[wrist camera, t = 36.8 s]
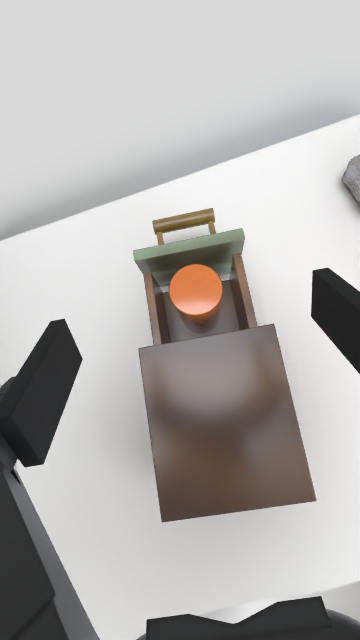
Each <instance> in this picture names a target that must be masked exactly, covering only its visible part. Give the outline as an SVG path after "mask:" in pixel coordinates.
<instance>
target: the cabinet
mask: <svg viewBox="0 0 360 640" xmlns="http://www.w3.org/2000/svg"><path fill="white" fill-rule="evenodd" d="M139 357H140V364H141V372H142V379H143V386H144V394H145V401H146V409H147V416H148V423H149V431H150V438H151V446H152V453H153V460H154V468H155V475H156V483H157V490H158V498H159V505H160V512H161V520H162V522H169V521H176V520H183V519H190V518H197V517H205V516H212V515H219V514H226V513H233V512H240V511H248V510H255V509H262V508H269V507H276V506H284V505H291V504H298V503H305V502H312V501H316V496H315V492H314V488H313V483H312V479H311V475H310V471H309V467H308V463H307V459H306V454H305V450H304V446H303V442H302V438H301V434H300V430H299V425H298V421H297V417H296V413H295V409H294V405H293V401H292V396H291V392H290V388H289V384H288V380H287V376H286V372H285V367H284V363H283V359H282V355H281V351H280V347H279V342H278V338H277V334H276V330H275V326H274V324H270V325H265V326H259V327H254V328H248V329H243V330H237V331H232V332H226V333H221V334H215V335H210V336H204V337H199V338H193V339H188V340H182V341H177V342H171V343H166V344H160V345H155V346H149V347H144V348H139Z"/></svg>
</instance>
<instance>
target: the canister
mask: <svg viewBox="0 0 360 640" xmlns="http://www.w3.org/2000/svg"><path fill="white" fill-rule="evenodd" d="M169 294H170V298H171V301H172V303H173V305H174V307H175V309H176V310H177V312H178V314H179V316H180V318H181V320H182V322H183V324H184V326H185V327H186V328H187V329H188V330H190V331H192V332H194V333H207V332H209V331H211V330H212V329H214V328H215V327H216V325H217V324H218V322H219V319H220V312H221V300H222V283H221V280H220V278H219V276H218V275H217V273H216V272H215V271H214V270H212V269H211V268H209V267H207V266H205V265H199V264H193V265H188V266H186V267H184V268H182V269H180V270H179V271H178V272H177V273H176V274H175V275H174V277H173V278H172V280H171V283H170V287H169Z"/></svg>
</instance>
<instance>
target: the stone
mask: <svg viewBox="0 0 360 640" xmlns="http://www.w3.org/2000/svg"><path fill="white" fill-rule="evenodd" d="M342 180H343V182H344V183H345V184H346V185H347V186H348V187H349V188H350V191H351V192H352V194H353V195H354V197H355V199H357V201H358V202H359V203H360V155H358V156H356V157H354V158H352V159H351V160H350V161H349V163H348V166H347V170H346V172H345V173H344V176H343V178H342Z"/></svg>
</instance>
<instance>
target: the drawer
mask: <svg viewBox="0 0 360 640" xmlns="http://www.w3.org/2000/svg"><path fill="white" fill-rule="evenodd" d="M214 222H215V217H214V211H213V208H210V209H205V210H201V211H196V212H191V213H186V214H182V215H177V216H172V217H168V218H163V219H158V220H153V228H154V232H155V234H156V235H157V239H158V246H154V247H149V248H144V249H139V250H134V251H133V255H134V261H135V262H136V264H137V266H138V267H139V269H140V270H141V272H142V273H143V275H144V281H145V288H146V295H147V302H148V308H149V315H150V322H151V329H152V336H153V342H154V346H155V345H160V344H166V343H171V342H177V341H182V340H188V339H193V338H199V337H204V336H210V335H215V334H221V333H226V332H232V331H237V330H243V329H248V328H254V327H257V322H256V318H255V314H254V309H253V305H252V301H251V296H250V292H249V287H248V283H247V279H246V274H245V270H244V265H243V261H242V257H241V255H242V250H243V245H244V240H245V236H244V232H243V229H242V228H241V229H236V230H231V231H226V232H222V233H217V234H216V232H215V227H214ZM205 224H208V226H209V231H210V235H207V236H202V237H197V238H192V239H188V240H183V241H178V242H173V243H168V244H164V241H163V235H162V233H167V232H171V231H176V230H181V229H186V228H191V227H195V226H200V225H205ZM193 264H199V265H205V266H207V267H209V268H211V269H212V270H214V271H215V272H216V273H217V275H219V274H224V273H229V272H230V278H229V280H226V281H221V283H222V300H221V312H220V319H219V322H218V324H217V325H216V327H215V328H214V329H212V330H211V331H209V332H207V333H194V332H192V331H190V330H188V329H187V328H186V327H185V326H184V324H183V322H182V320H181V318H180V316H179V314H178V312H177V310H176V309H175V307H174V305H173V303H172V301H171V298H170V294H169V292H164V293H163V292H162V290H161V289H160V287H159V286H162V285H167V284H170V283H171V280H172V278H173V277H174V275H175V274H176V273H177V272H178V271H179V270H180V269H182V268H184V267H186V266H188V265H193Z"/></svg>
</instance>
